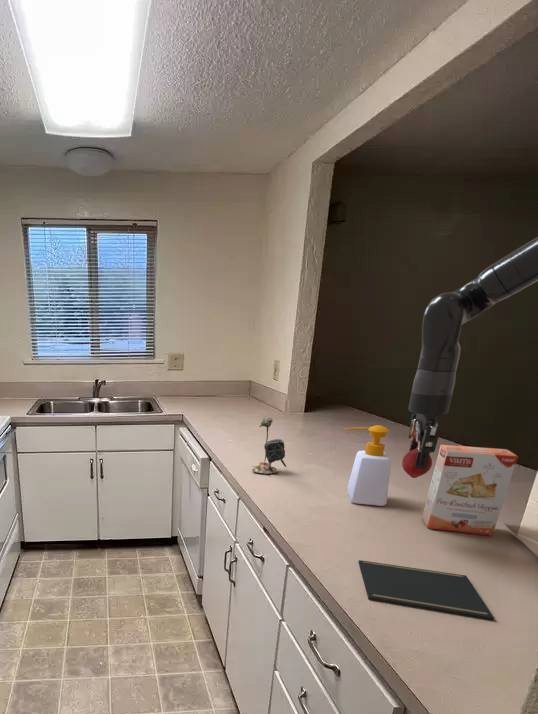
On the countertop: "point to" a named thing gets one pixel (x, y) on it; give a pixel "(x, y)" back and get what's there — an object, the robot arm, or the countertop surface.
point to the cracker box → (468, 488)
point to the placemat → (423, 589)
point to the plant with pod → (270, 451)
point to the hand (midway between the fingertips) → (416, 463)
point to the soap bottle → (370, 471)
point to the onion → (409, 464)
